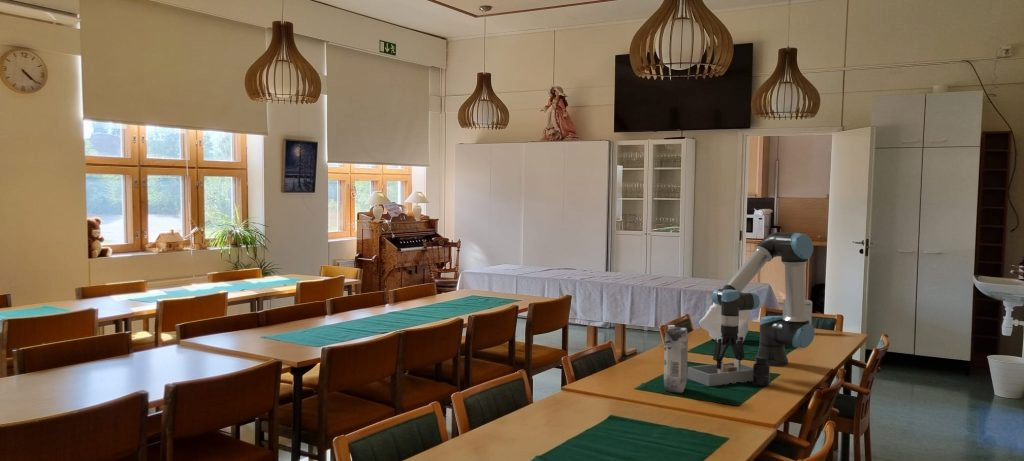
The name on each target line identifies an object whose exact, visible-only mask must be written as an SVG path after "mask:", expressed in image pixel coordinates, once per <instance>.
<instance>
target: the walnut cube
mask: <svg viewBox="0 0 1024 461" xmlns="http://www.w3.org/2000/svg"><path fill="white" fill-rule="evenodd" d="M733 371H737V367H735V366H731V365H723V373H724V372H733Z"/></svg>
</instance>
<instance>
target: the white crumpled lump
mask: <svg viewBox="0 0 1024 461" xmlns="http://www.w3.org/2000/svg"><path fill="white" fill-rule="evenodd" d="M750 317H751V310H741V311H739V324H738V326H739V328H738V334H737V336H741V337H743V341H745V339H746V336H747V333H748V332H749V331H750V330H749V321H750ZM698 324H699V326H700V327H701V328H702V329H703V330H704V331H707V332H708V334H709V338H711V339H713V340H714V341H716V340H715V339H716V338H721V336H722V333H721V325H722V323H721V306H720V305H717V304H715V303H714V302H713V303H712V305H710V306H709V308H708V310H707V311H706V313H705V315H704V316H703V317H702V318H701V319H700V320H699V321H698ZM736 343H737V341H736Z"/></svg>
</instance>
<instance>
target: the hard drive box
mask: <svg viewBox="0 0 1024 461" xmlns="http://www.w3.org/2000/svg"><path fill="white" fill-rule="evenodd" d="M782 302H783V303H782V316H785V315H786V298H783V301H782ZM805 315H806V317H808V318H809V324H810V325H812V318H813V316H812V315H813V301H812V300H809V299H805Z"/></svg>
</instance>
